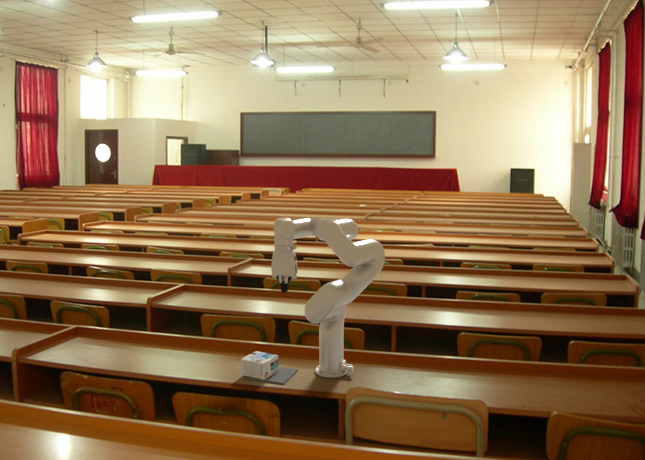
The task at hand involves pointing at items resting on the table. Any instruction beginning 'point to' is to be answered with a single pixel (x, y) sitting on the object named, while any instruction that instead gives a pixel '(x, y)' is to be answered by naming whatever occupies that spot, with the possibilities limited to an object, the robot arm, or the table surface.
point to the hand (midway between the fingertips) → (284, 291)
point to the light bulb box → (259, 365)
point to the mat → (278, 376)
